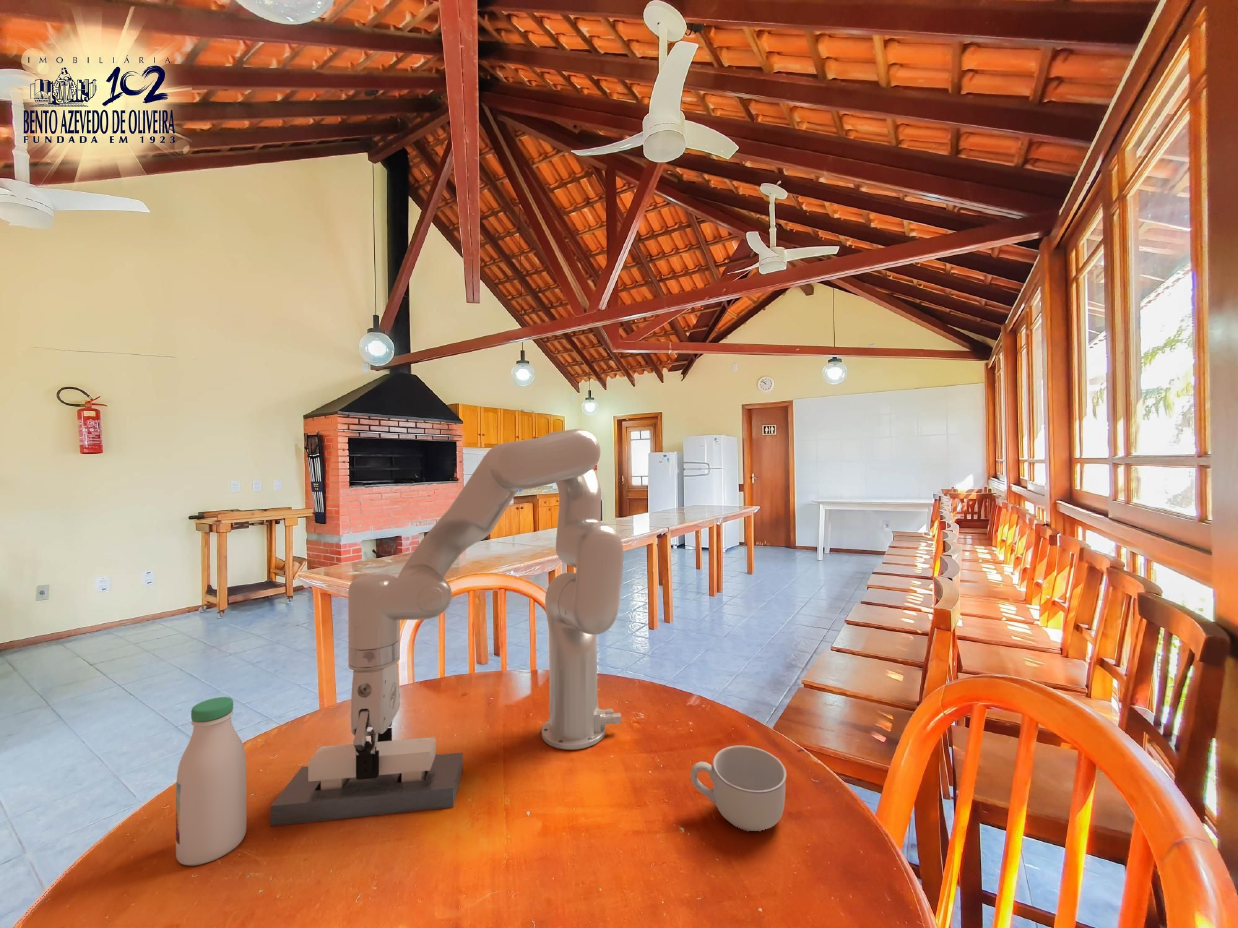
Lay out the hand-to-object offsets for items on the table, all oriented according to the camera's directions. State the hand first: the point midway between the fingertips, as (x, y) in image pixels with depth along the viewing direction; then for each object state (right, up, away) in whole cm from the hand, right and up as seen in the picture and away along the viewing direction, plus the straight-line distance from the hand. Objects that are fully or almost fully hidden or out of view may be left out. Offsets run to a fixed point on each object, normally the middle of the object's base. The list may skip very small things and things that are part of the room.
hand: (374, 763), depth 82 cm
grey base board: (0, -5, 0) cm, 5 cm away
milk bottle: (-18, -5, -11) cm, 21 cm away
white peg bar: (0, -5, 0) cm, 5 cm away
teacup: (+57, -5, -5) cm, 58 cm away
